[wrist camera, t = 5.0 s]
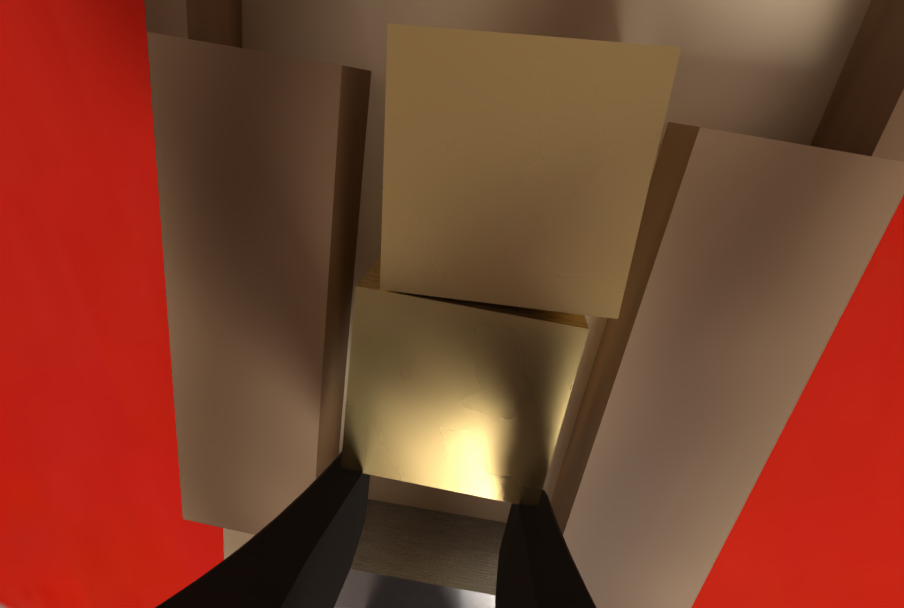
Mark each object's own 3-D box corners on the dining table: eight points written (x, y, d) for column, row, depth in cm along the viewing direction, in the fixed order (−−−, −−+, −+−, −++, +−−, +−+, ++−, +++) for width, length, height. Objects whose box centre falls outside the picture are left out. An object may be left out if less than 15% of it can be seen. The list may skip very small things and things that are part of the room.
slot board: (1140, -587, 7) (1520, -1004, 5) (605, 647, 18) (620, 744, 16) (221, -674, 8) (64, -1081, 5) (239, 564, 19) (192, 643, 16)
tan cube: (565, 258, 12) (589, 329, 8) (530, 397, 14) (537, 508, 10) (402, 228, 12) (355, 285, 9) (386, 369, 14) (340, 468, 10)
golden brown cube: (623, 64, 10) (681, 47, 7) (587, 250, 12) (618, 319, 8) (432, 48, 11) (387, 22, 7) (421, 232, 12) (379, 289, 9)
